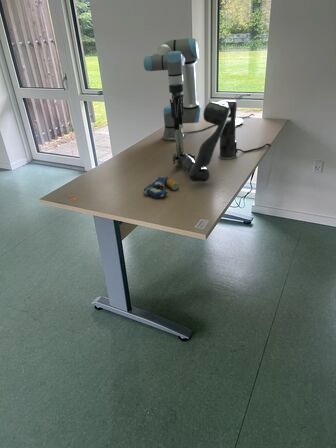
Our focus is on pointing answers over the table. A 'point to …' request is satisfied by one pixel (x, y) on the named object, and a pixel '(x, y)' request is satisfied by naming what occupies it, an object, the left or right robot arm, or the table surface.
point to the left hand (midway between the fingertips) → (178, 128)
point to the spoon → (238, 121)
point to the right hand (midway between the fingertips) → (178, 154)
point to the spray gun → (160, 183)
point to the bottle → (179, 144)
